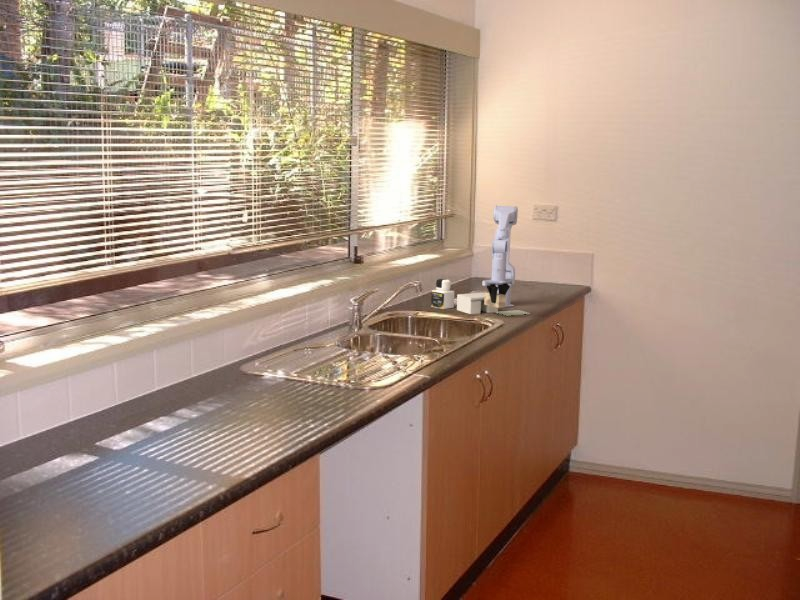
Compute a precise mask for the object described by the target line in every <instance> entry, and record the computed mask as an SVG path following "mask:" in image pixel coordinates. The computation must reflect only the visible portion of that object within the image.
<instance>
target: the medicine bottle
mask: <svg viewBox="0 0 800 600" xmlns="http://www.w3.org/2000/svg"><path fill="white" fill-rule="evenodd" d="M435 282H436V284H435V285H436V287H435V289H433V290H431V293H430V294H431V296H430V301H431V302H430V307H431V308H435V309H441V310H446V309H451V308H455V290H451V283H452V281H451V280H450V279H448V278H438V279H436V281H435Z"/></svg>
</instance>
